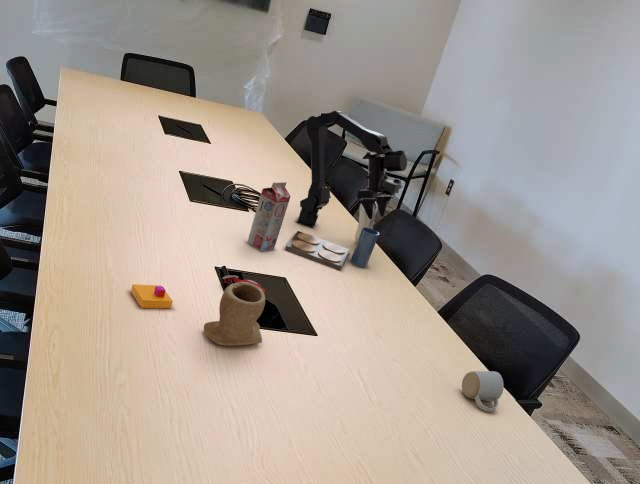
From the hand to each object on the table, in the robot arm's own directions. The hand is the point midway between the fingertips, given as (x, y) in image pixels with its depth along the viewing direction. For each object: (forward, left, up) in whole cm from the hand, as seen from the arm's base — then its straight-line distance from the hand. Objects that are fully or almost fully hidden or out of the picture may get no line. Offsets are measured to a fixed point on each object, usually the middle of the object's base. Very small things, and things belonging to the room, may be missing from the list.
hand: (376, 217), depth 241 cm
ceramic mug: (+42, -82, -14) cm, 93 cm away
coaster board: (-15, -16, -14) cm, 26 cm away
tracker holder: (-28, -69, -14) cm, 76 cm away
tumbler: (0, -13, -14) cm, 19 cm away
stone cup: (-22, -99, -14) cm, 103 cm away
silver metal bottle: (-1, +11, -13) cm, 17 cm away
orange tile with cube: (-46, -95, -14) cm, 107 cm away
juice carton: (-33, -30, -14) cm, 47 cm away
